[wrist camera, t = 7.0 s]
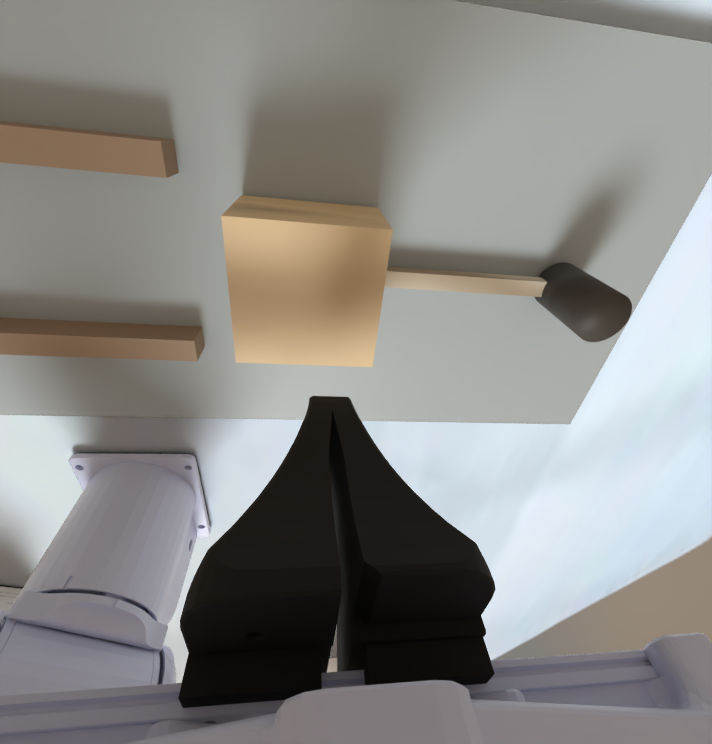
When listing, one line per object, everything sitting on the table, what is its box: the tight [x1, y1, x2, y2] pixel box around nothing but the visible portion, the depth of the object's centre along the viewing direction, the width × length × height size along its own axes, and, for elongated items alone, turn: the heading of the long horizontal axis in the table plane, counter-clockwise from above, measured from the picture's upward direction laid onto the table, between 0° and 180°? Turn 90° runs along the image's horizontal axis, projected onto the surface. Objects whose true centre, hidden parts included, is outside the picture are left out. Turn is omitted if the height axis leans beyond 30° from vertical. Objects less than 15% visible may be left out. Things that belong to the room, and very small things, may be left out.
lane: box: [0, 0, 712, 424], centre depth 18 cm, size 20×37×2 cm, turn 84°
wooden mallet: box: [221, 195, 632, 367], centre depth 17 cm, size 6×17×4 cm, turn 84°
